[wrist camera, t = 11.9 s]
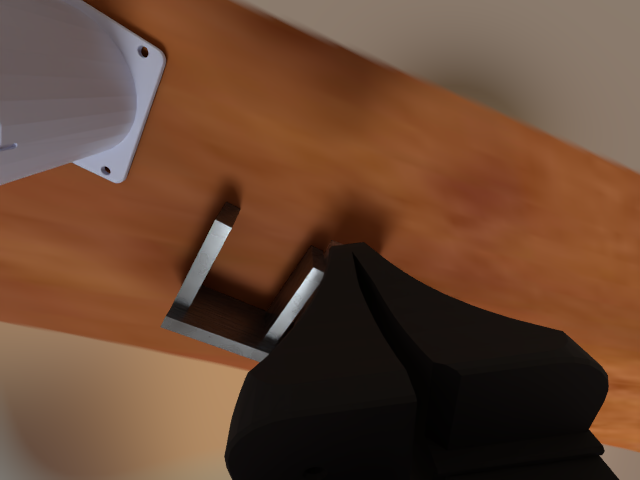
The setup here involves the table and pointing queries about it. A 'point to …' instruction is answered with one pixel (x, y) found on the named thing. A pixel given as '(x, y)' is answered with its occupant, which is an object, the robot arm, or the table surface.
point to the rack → (233, 315)
